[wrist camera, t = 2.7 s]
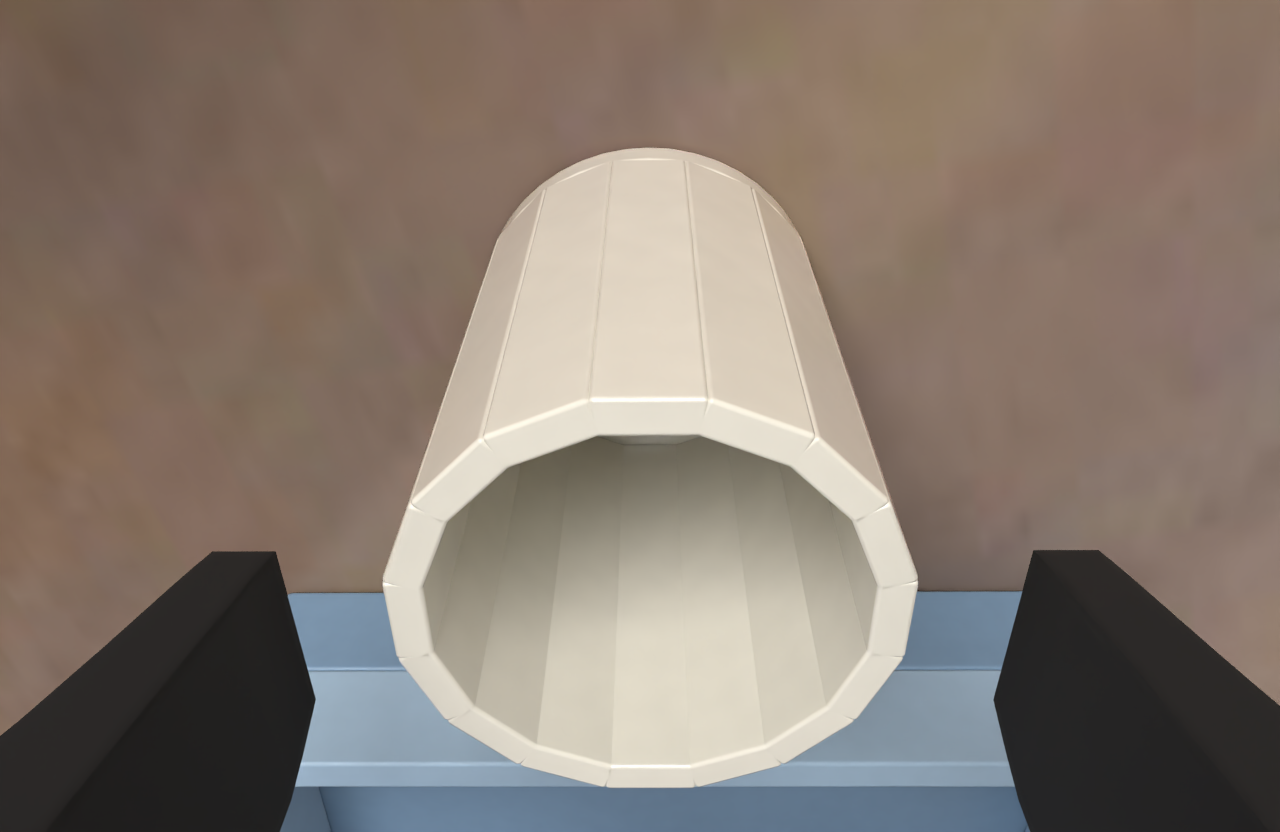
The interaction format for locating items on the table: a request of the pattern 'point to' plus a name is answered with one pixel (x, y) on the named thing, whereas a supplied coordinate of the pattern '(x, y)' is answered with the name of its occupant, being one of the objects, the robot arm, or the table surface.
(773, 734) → the cup
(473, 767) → the light blue shelf
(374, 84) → the table surface
